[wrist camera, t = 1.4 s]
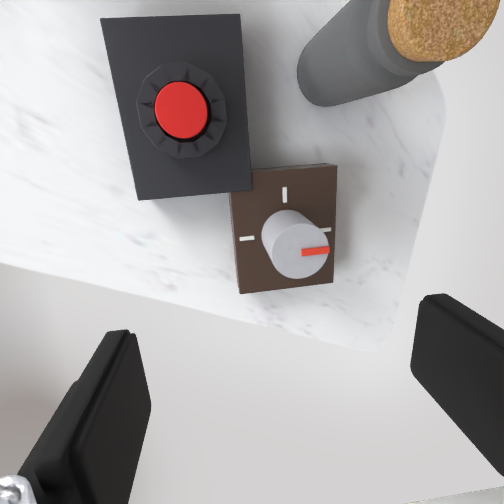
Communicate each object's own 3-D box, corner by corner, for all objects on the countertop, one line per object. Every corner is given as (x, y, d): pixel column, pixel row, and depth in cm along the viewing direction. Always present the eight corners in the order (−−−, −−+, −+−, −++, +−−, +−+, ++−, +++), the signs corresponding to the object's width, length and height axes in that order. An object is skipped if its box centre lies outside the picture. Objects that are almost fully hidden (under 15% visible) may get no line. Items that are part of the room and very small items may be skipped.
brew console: (226, 171, 29) (228, 175, 26) (325, 163, 30) (338, 165, 27) (237, 281, 33) (239, 295, 30) (323, 271, 34) (334, 283, 31)
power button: (154, 87, 22) (150, 83, 20) (204, 84, 22) (203, 80, 20) (163, 140, 23) (159, 140, 21) (210, 136, 23) (210, 136, 22)
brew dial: (262, 259, 29) (273, 283, 24) (260, 212, 27) (270, 227, 22) (309, 254, 30) (329, 276, 25) (309, 207, 28) (331, 221, 23)
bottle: (295, 108, 27) (382, 75, 14) (297, 32, 25) (401, -98, 11) (355, 106, 28) (496, 74, 14) (361, 33, 26) (534, -90, 12)
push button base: (113, 33, 24) (89, 7, 19) (236, 28, 25) (242, 2, 20) (145, 194, 28) (132, 205, 24) (248, 185, 29) (254, 193, 25)
